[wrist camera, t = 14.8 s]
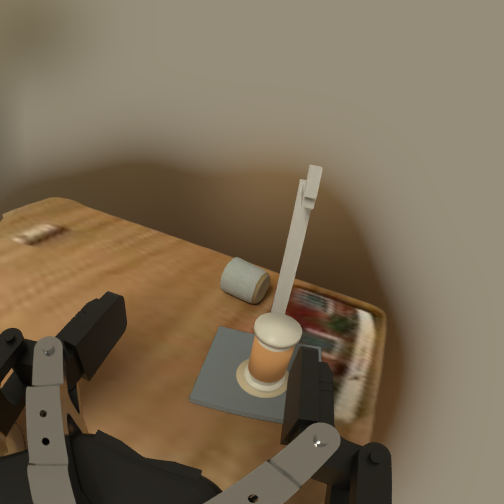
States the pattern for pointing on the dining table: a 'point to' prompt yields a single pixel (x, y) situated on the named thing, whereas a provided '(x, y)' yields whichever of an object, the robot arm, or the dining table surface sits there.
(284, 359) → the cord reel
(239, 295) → the ceramic mug
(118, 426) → the dining table surface
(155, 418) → the dining table surface
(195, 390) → the stand
